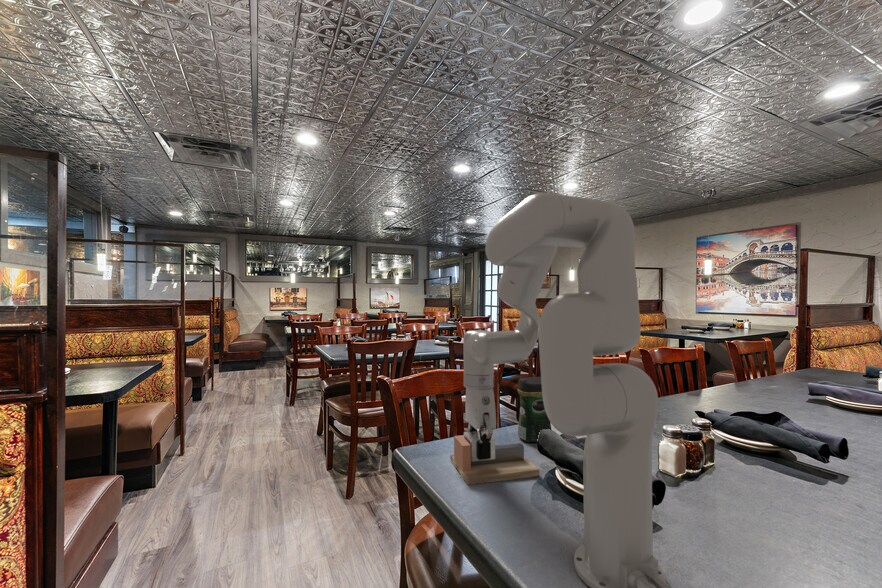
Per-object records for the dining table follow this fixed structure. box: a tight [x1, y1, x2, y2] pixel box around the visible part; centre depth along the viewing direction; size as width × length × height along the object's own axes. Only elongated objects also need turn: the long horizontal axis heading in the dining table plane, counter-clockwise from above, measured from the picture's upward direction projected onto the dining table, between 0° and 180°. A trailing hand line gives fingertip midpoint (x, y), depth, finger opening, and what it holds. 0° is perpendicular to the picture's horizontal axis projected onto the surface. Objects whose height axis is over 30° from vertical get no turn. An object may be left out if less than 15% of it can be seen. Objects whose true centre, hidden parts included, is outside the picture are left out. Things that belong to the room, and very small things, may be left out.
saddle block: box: [463, 431, 496, 461], centre depth 95 cm, size 6×6×5 cm
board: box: [449, 454, 540, 486], centre depth 96 cm, size 14×18×2 cm
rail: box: [471, 443, 525, 466], centre depth 96 cm, size 2×15×4 cm, turn 105°
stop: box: [453, 435, 471, 472], centre depth 94 cm, size 7×2×6 cm, turn 14°
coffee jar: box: [517, 376, 552, 443], centre depth 117 cm, size 10×8×19 cm
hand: (479, 452), depth 95 cm, fingers closed on saddle block, 6 cm apart
